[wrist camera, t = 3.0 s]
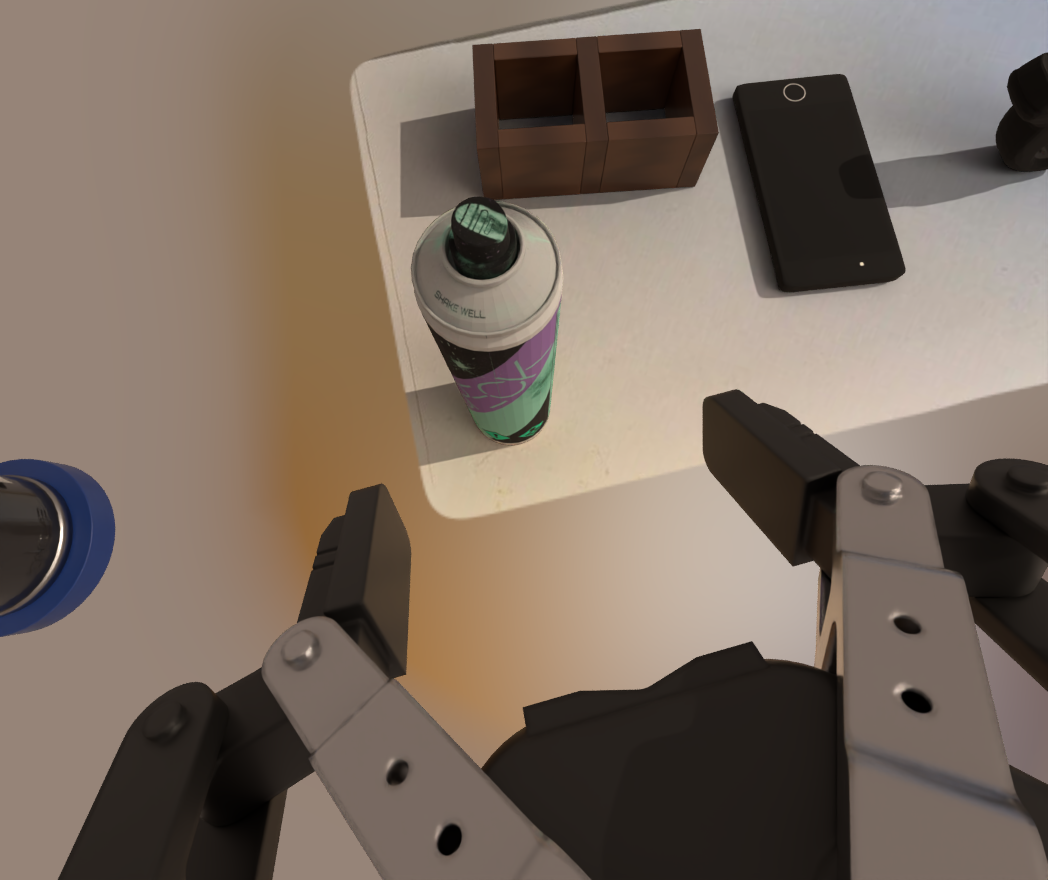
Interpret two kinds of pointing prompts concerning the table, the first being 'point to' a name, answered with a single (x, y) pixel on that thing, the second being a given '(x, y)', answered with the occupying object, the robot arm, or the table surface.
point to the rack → (593, 114)
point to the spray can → (493, 311)
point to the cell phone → (816, 184)
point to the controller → (1026, 118)
